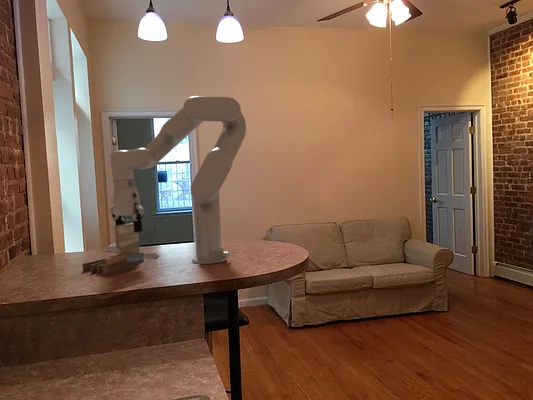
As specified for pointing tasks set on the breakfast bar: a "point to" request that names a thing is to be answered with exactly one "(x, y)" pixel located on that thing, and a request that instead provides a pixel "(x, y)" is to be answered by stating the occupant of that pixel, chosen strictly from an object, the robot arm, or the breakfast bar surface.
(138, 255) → the stand
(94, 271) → the rack
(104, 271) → the offcut bottom
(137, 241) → the beige wooden block
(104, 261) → the offcut top
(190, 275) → the breakfast bar surface
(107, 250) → the molding
